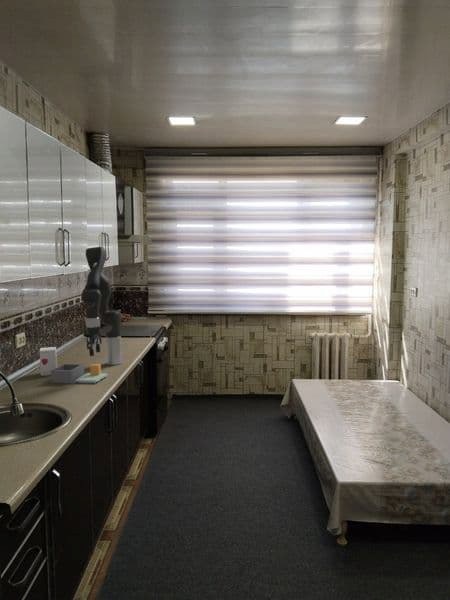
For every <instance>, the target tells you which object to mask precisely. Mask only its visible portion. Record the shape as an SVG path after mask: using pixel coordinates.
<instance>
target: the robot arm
mask: <svg viewBox="0 0 450 600" xmlns="http://www.w3.org/2000/svg"><path fill="white" fill-rule="evenodd" d="M85 258H86V262H87V265H88V267H89V270H90V271H89V273H88V274H87V278H86V284H85V287H84V288H83V290H82V292H81V297H80V299H81V301H82V302H83V303H85V304H86V303H87V304H89V303H90V304H91V303H93V305H92V306H91V305H90V306H88V307H86V309H85V327H86V329H85V330H86V335H88V336H89V337H86V349H87V350H88V351H89V356H90V357H94V356H95V353H94V352H96V353H101V345H102V333H101V331H102V330H101V322H102V323H103V325H104V326H107V327H108V326H111V330H109V331H108V330H107V331H106V332H105V349H106V364H107V365H108V366H117V365H121V364H122V363H123V361H122V359H123V358H122V357H123V356H122V355H123V354H122V336H121V335H122V334H121V333H122V315H121V313H120V311H118V310H109V309H110V308H109V301H110V298H111V296H112V286H111V283H110V280H109V279H108V277H107V276H106V275H104V274H103V270H104V266H105V263H106V260H107V251H106V250H105V248H104V247H103V246H95V247H87V248H85ZM100 317H101V320H100ZM94 348H95V350H94Z"/></svg>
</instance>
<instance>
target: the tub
mask: <svg viewBox="0 0 450 600" xmlns="http://www.w3.org/2000/svg"><path fill="white" fill-rule="evenodd" d="M83 375H85V366H84V364H81V363H64V364H61V365H59V366H57V368H55V369H52V370H51V375H50V377H51V378H50V379H51V383H52V384H74V383H76V379H78V378H80V377H82V376H83Z"/></svg>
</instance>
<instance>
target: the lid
mask: <svg viewBox="0 0 450 600" xmlns="http://www.w3.org/2000/svg"><path fill="white" fill-rule="evenodd" d="M89 367H90V368H89V369H90V370H89V371H90V372H87V373H84V375H83V376H82V377H80V378H78V379H76V381H75V383H77V382H78V384H97V383H98V382H100V381H101V379H102V380H103V379H105V378H106V377H107V376H108V375H109V373H102V366H101V364H100V363H98V364H97V363H96V364H95V363H92V364H90V365H89ZM104 377H105V378H104ZM96 382H97V383H96Z"/></svg>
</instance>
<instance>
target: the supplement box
mask: <svg viewBox="0 0 450 600" xmlns="http://www.w3.org/2000/svg"><path fill="white" fill-rule="evenodd" d="M57 360H58V358H57V347H56V346H53V347H51V346H49V347H40V349H39V367H40V368H39V369H40V376H41V377H43V376H51V370H52V369H55V368H57V367H58V361H57Z"/></svg>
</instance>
